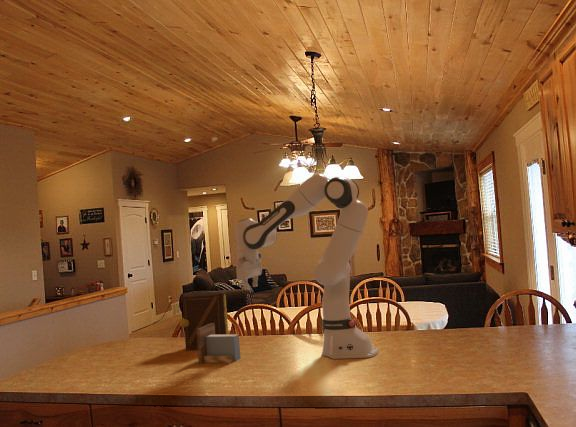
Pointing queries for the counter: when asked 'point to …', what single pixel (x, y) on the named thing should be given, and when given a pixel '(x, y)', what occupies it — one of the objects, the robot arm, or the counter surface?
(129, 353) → the counter surface
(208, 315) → the book
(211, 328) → the wooden display stand
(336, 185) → the robot arm
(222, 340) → the box book
